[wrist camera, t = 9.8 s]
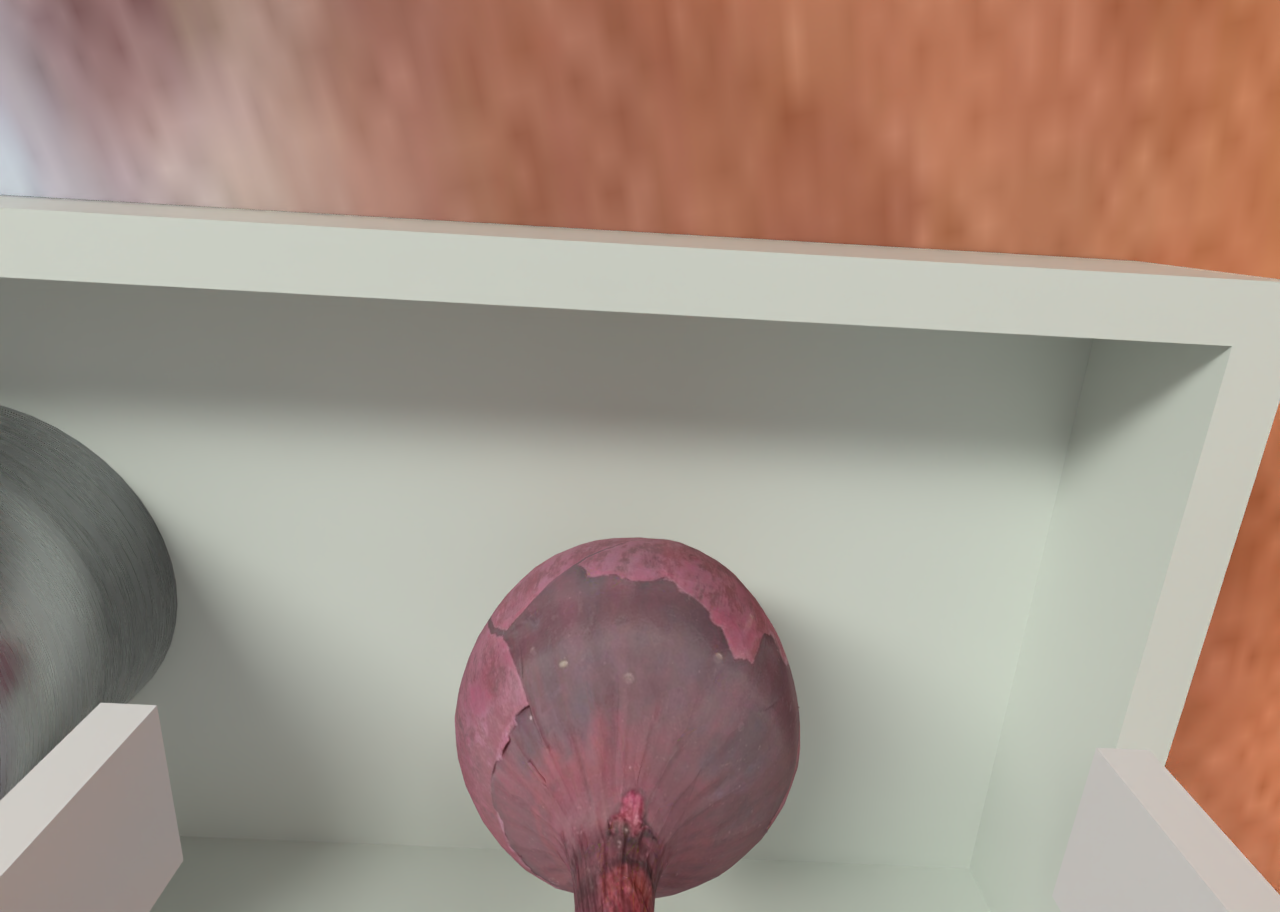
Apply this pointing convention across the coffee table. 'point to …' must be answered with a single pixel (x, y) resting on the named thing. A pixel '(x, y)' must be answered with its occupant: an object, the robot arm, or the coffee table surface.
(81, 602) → the tin
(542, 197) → the coffee table surface
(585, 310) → the grey tray
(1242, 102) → the coffee table surface
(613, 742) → the vegetable
